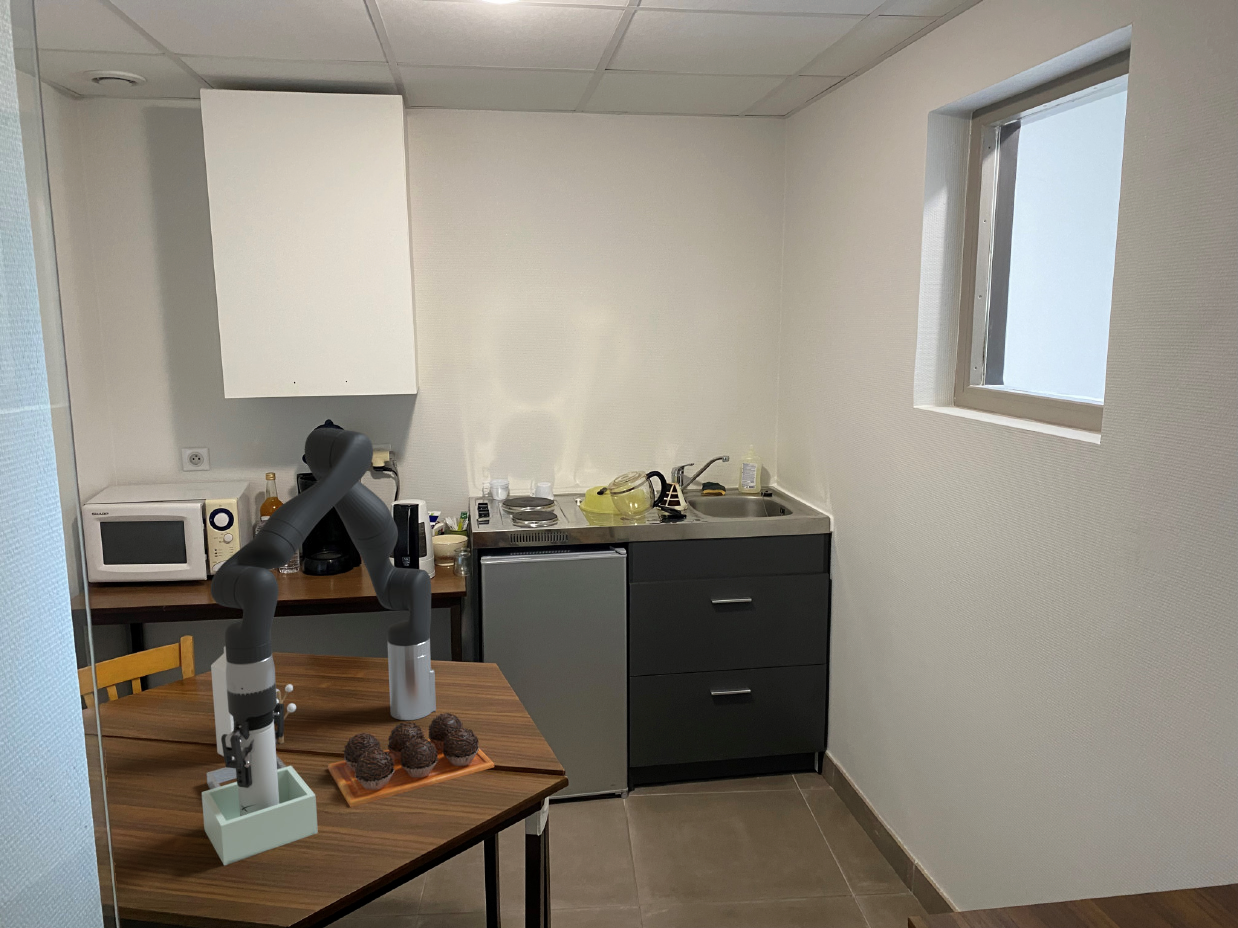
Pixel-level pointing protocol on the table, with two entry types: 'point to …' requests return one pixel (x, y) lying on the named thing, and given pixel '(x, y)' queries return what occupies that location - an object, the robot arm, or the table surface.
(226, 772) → the collar
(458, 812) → the table surface
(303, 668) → the table surface
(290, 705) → the cotton branch
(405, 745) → the chocolate truffle
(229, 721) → the milk
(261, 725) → the travel mug
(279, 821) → the bin
